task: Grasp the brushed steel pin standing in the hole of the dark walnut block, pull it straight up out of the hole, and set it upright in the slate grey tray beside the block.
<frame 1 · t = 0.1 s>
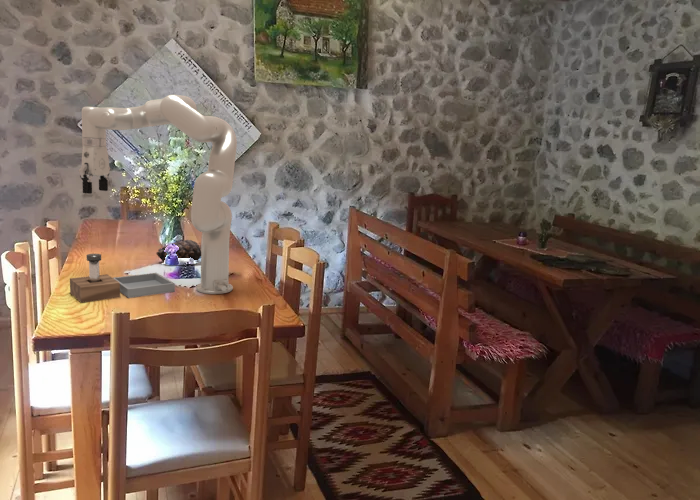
hand: (95, 191, 207), 31 cm above the table, tool pointing down, fingers open, 9 cm apart
grey tray: (143, 288, 202), on the table
pine cone: (179, 264, 240), on the table
walnut block: (95, 295, 192), on the table
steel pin: (94, 275, 191), in the walnut block
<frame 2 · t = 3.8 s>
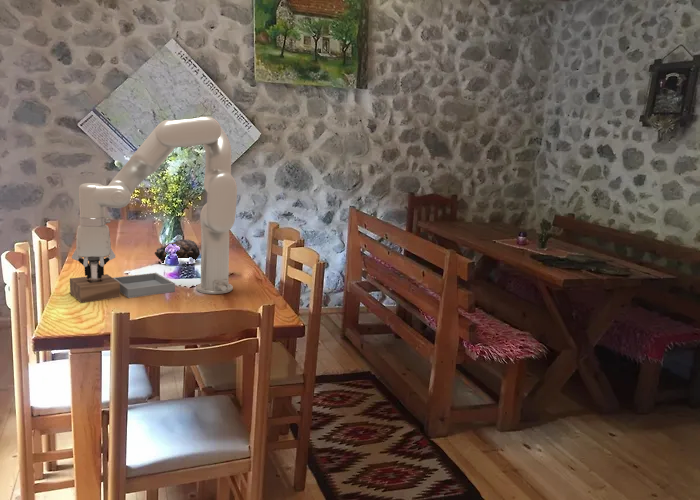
hand: (94, 277, 191), 6 cm above the table, tool pointing down, fingers closed on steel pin, 3 cm apart
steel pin: (94, 275, 191), in the walnut block, touching gripper
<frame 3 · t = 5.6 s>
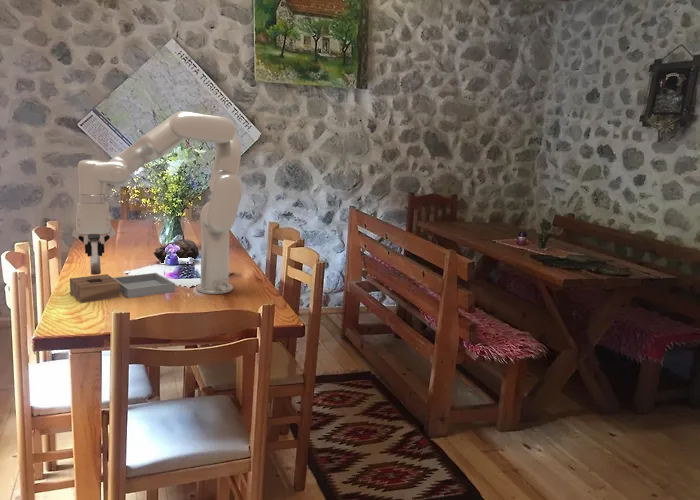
hand: (95, 255, 189), 14 cm above the table, tool pointing down, fingers closed on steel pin, 3 cm apart
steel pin: (94, 253, 189), point 14 cm above the table, touching gripper
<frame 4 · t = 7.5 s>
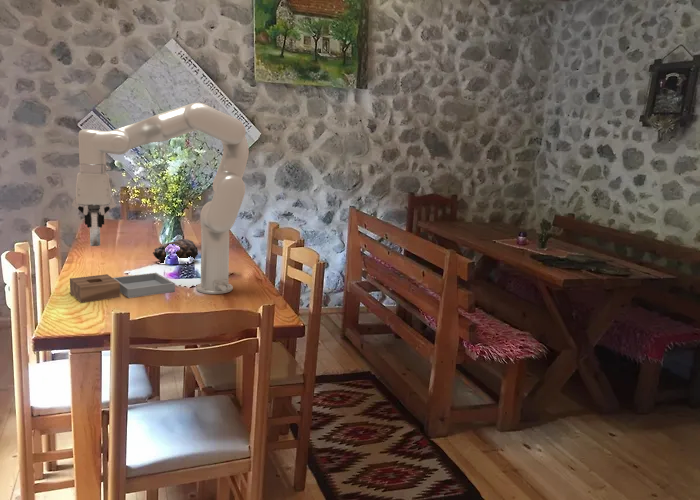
hand: (94, 226, 188), 23 cm above the table, tool pointing down, fingers closed on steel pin, 3 cm apart
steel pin: (94, 224, 188), point 24 cm above the table, touching gripper
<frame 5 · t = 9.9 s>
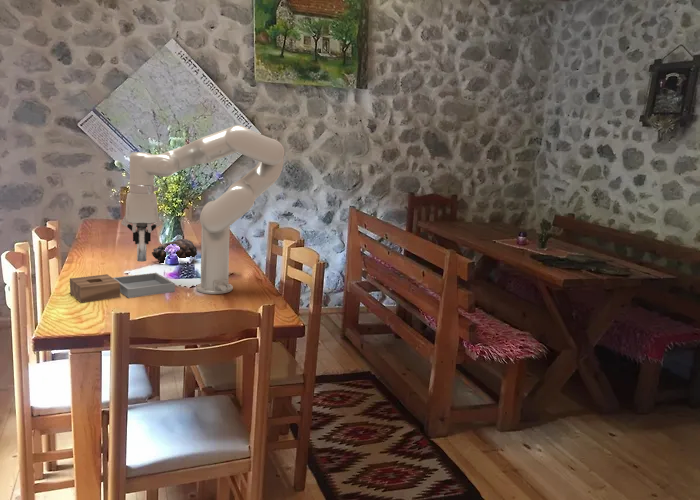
hand: (141, 243, 199), 16 cm above the table, tool pointing down, fingers closed on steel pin, 3 cm apart
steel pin: (141, 241, 199), point 17 cm above the table, touching gripper
when the fingers open (8 cm above the table, at t = 11.5 s): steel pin drops 2 cm, resting on grey tray.
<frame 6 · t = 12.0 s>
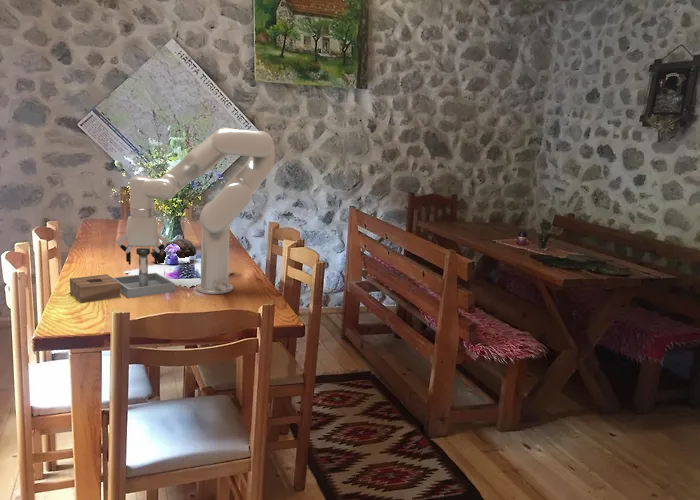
hand: (142, 263, 201), 9 cm above the table, tool pointing down, fingers open, 8 cm apart
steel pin: (143, 268, 201), in the grey tray, point 7 cm above the table
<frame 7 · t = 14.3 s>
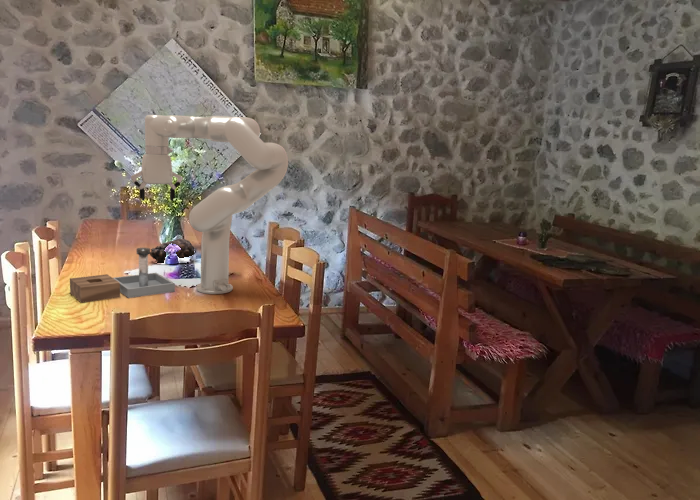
hand: (157, 200, 206), 30 cm above the table, tool pointing down, fingers open, 9 cm apart
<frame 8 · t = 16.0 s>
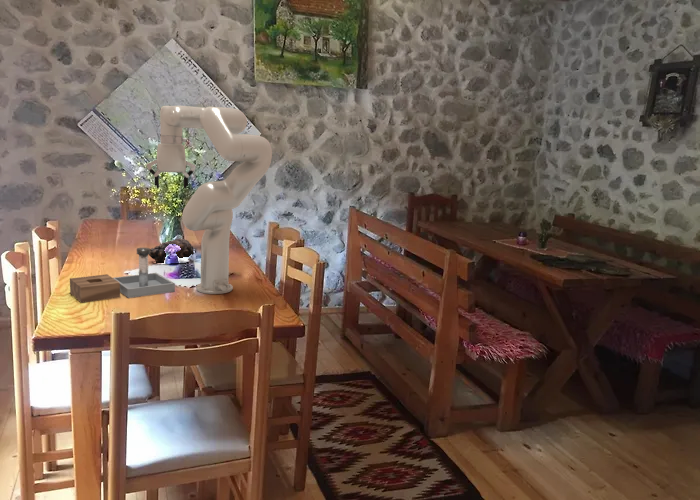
hand: (171, 187, 215), 33 cm above the table, tool pointing down, fingers open, 9 cm apart
at the end: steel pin inside the target area on the grey tray (0.2 cm from its centre), point 7.4 cm above the grey tray's base; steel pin tilted 0°; the gripper is holding nothing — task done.
